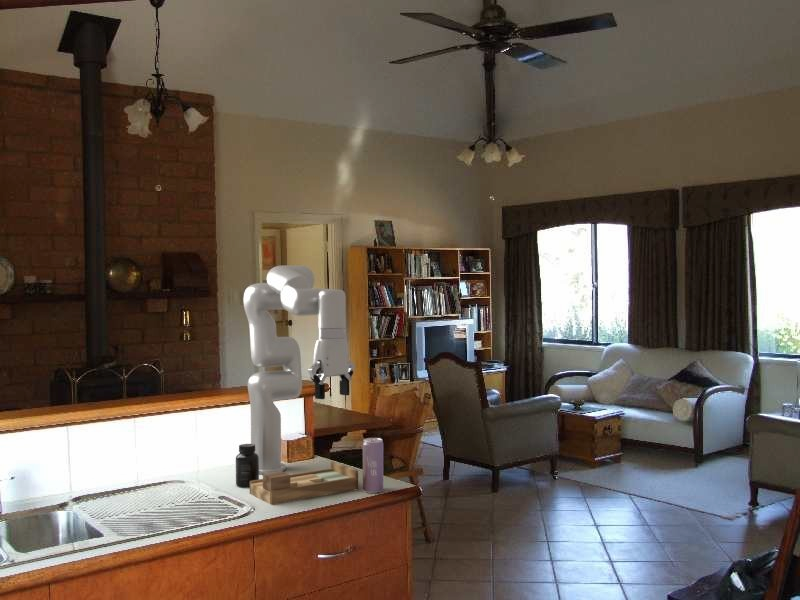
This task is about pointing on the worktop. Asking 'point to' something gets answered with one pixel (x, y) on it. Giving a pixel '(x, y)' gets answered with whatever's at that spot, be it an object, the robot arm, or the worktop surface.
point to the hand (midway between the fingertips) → (332, 396)
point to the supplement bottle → (246, 465)
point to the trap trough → (309, 484)
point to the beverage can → (373, 465)
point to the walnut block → (276, 481)
